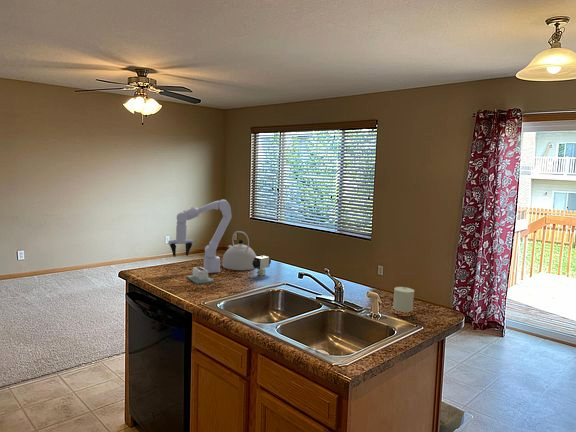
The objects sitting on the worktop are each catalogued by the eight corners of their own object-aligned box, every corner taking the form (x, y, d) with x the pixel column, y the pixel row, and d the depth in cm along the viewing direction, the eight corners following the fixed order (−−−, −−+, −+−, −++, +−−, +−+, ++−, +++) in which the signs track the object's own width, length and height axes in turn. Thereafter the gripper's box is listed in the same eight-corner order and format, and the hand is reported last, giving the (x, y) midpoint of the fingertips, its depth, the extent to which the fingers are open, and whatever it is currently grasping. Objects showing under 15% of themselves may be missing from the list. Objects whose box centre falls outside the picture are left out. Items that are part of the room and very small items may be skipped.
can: (411, 311, 206) (414, 287, 205) (412, 317, 197) (415, 292, 196) (392, 309, 208) (394, 284, 207) (392, 315, 199) (394, 289, 198)
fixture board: (203, 275, 249) (203, 274, 249) (213, 281, 237) (213, 280, 237) (187, 277, 243) (187, 275, 243) (196, 283, 232) (196, 281, 231)
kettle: (213, 263, 281) (214, 229, 278) (241, 260, 296) (243, 227, 293) (235, 271, 262) (236, 235, 260) (264, 267, 277) (266, 233, 275)
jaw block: (201, 275, 246) (201, 266, 245) (208, 279, 237) (208, 270, 237) (192, 276, 243) (192, 267, 242) (199, 280, 235) (199, 271, 234)
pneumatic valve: (270, 274, 261) (271, 254, 260) (257, 277, 252) (258, 257, 251) (263, 272, 264) (264, 253, 263) (250, 275, 255) (251, 255, 254)
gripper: (171, 234, 245) (170, 258, 247) (195, 233, 253) (194, 256, 255) (167, 232, 251) (166, 255, 253) (191, 231, 259) (190, 254, 261)
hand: (180, 255), depth 254 cm, fingers open, 7 cm apart
